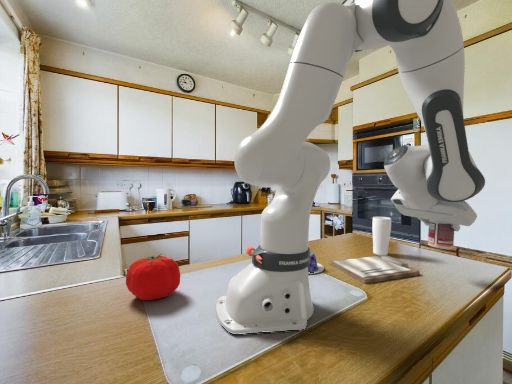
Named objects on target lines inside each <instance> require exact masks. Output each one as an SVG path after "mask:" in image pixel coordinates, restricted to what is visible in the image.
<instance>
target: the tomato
mask: <svg viewBox="0 0 512 384" xmlns="http://www.w3.org/2000/svg"><path fill="white" fill-rule="evenodd" d="M162 254H163V253H162V252H161V253H160V254H158V255H156V256H154V255H151V256H147V257H142V258H139V259H137V260H135V261H133V262H132V263H131V264H130V265H129V267H128V269H127V272H126V275H125V285H126V288H127V290H128V291H129V292H130V293H131V294H132V295H133V296H135V297H136V298H138V299H140V300H142V301H148V300H149V301H150V300H153V301H154V300H157V299H159V300H160V299H163V298H166V297H169V296H170V295H171V294H173V293H174V292H175V291H176V290H177V289H178V287H179V286H180V284H181V271H180V267H179V264H178V263H177V262H176V261H175V259H173V258H170V257H167V256H165V255H162Z"/></svg>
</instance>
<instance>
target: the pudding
mask: <svg viewBox="0 0 512 384" xmlns="http://www.w3.org/2000/svg"><path fill="white" fill-rule="evenodd" d="M316 257H317V256H316V255H315V253H314V252H312V251H310V266H309V270H308V273H310V272H311V271H315V272H314V273H313V274H319V273H321V272H323V271H324V270H325V267H324V265H322V264H321V263H319V262H317V258H316Z"/></svg>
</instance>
